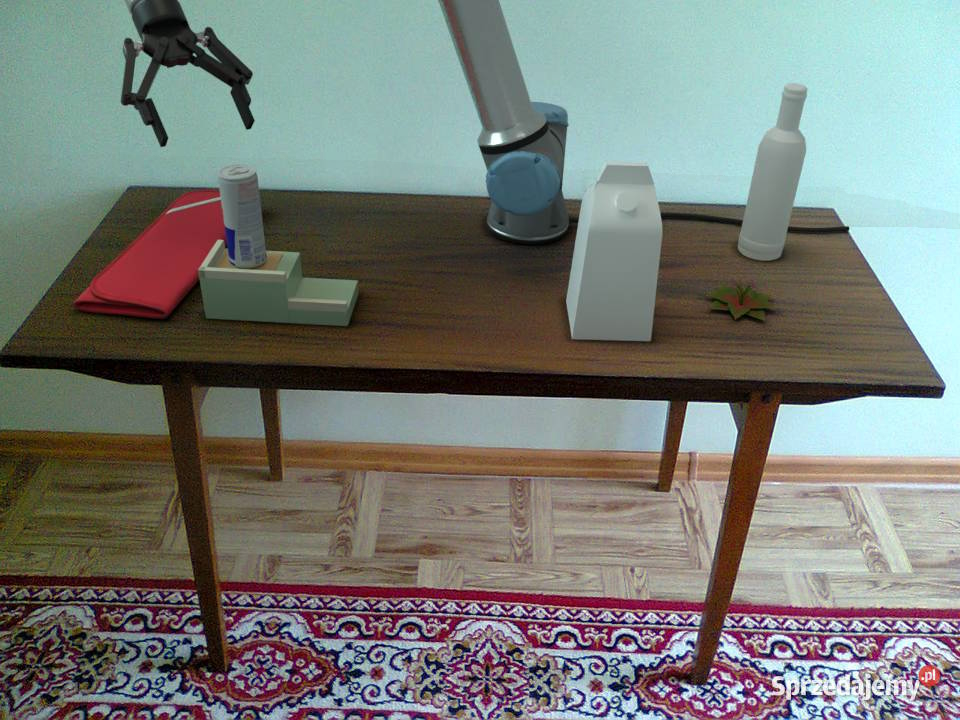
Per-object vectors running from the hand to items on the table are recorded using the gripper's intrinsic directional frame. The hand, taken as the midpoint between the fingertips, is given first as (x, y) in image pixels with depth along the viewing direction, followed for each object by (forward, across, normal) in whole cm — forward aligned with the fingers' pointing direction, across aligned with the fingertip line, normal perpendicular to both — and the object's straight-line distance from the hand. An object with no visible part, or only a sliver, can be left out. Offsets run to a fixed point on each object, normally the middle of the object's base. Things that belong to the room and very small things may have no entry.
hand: (208, 134), depth 138 cm
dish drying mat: (+9, +4, -26) cm, 28 cm away
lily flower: (+56, -64, +21) cm, 88 cm away
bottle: (+48, -82, +13) cm, 96 cm away
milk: (+50, -43, +14) cm, 67 cm away
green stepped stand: (+27, -3, -8) cm, 28 cm away
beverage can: (+19, 0, -6) cm, 20 cm away
